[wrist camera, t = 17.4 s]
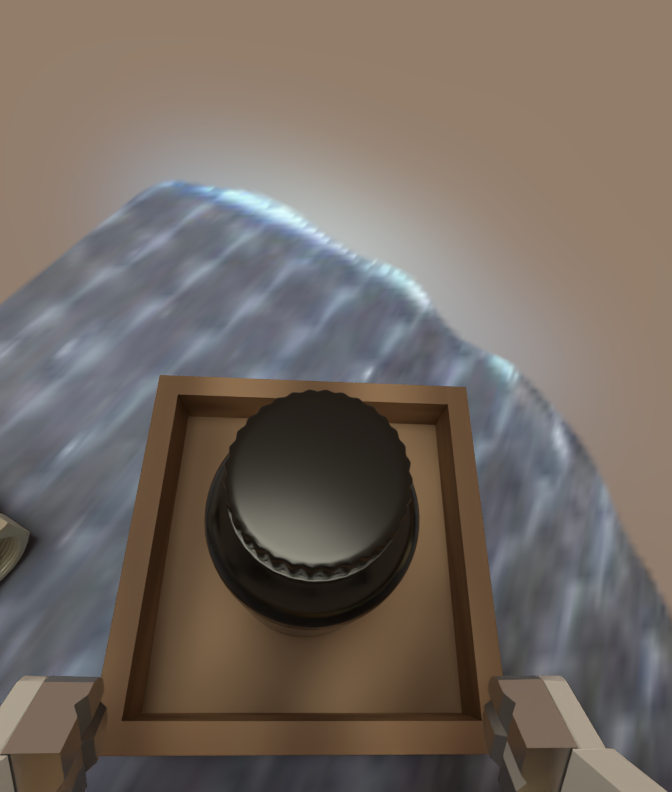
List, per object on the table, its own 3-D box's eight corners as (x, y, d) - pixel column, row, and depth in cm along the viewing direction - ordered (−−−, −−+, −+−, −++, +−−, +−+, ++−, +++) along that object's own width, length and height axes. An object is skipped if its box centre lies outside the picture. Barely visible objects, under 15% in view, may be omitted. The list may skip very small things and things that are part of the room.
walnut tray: (118, 739, 20) (85, 756, 17) (176, 406, 27) (159, 375, 24) (480, 738, 21) (512, 753, 18) (446, 416, 28) (465, 387, 25)
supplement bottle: (375, 647, 21) (452, 647, 11) (218, 627, 21) (137, 607, 11) (385, 492, 24) (453, 373, 14) (248, 475, 24) (210, 340, 14)
